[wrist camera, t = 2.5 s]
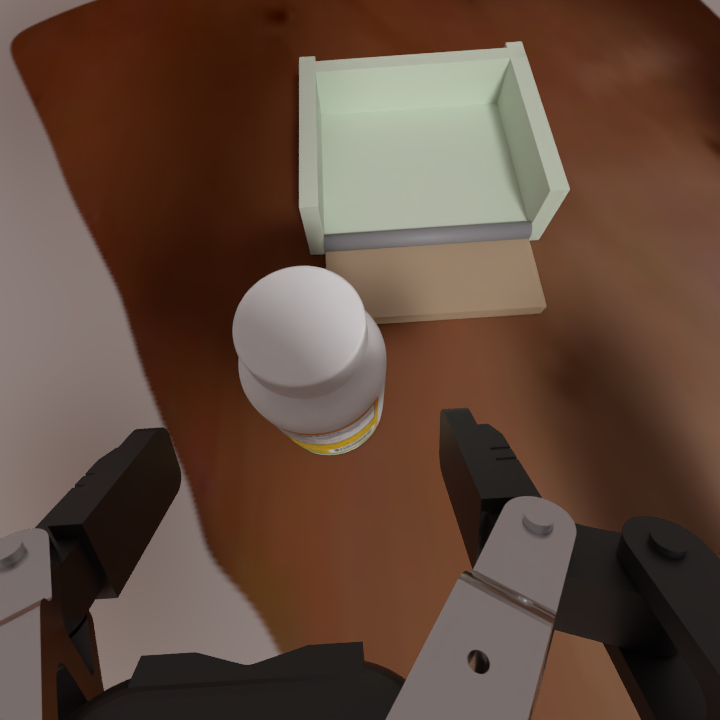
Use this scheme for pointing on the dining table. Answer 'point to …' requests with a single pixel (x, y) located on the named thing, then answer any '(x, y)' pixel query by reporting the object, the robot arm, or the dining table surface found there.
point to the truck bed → (429, 180)
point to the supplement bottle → (311, 358)
